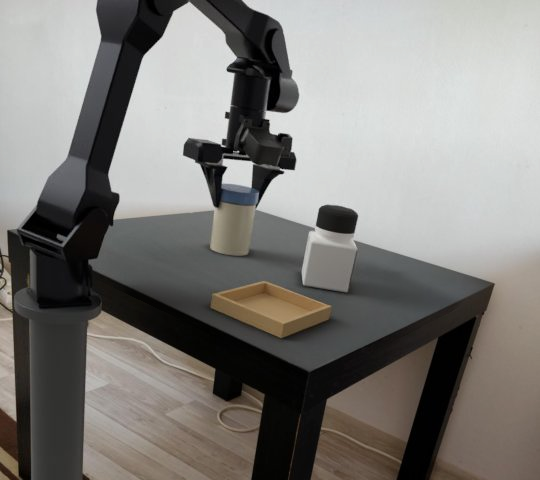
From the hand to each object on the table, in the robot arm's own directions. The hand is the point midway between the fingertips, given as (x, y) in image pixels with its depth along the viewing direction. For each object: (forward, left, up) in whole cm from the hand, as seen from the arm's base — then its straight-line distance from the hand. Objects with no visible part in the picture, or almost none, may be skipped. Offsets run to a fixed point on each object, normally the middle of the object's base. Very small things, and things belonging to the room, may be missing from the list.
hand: (234, 207), depth 98 cm
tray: (-10, -28, -7) cm, 31 cm away
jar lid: (0, 0, +3) cm, 3 cm away
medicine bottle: (+7, -18, -8) cm, 21 cm away
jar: (0, 0, -7) cm, 7 cm away
